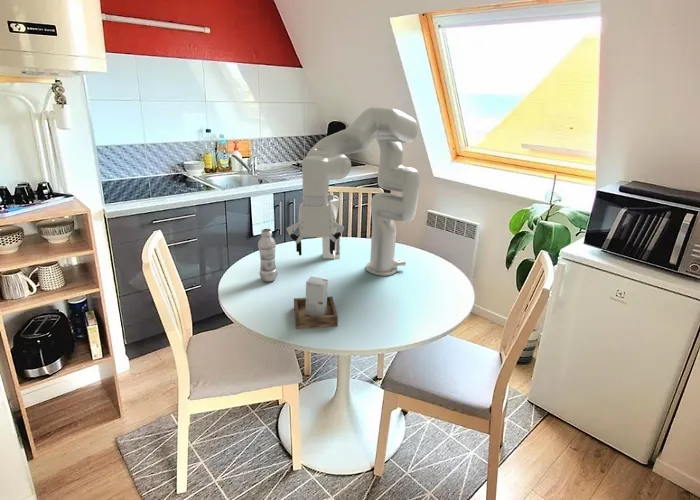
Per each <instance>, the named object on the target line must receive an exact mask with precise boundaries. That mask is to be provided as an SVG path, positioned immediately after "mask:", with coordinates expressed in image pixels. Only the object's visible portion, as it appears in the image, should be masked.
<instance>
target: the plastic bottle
mask: <svg viewBox="0 0 700 500" xmlns="http://www.w3.org/2000/svg"><path fill="white" fill-rule="evenodd" d="M260 232H261V234H260V236H261V237H260V239H259V241H258V243H257V247H258V251H259V258H260V268H259V277H260V280H261V281H262V282H267V283H269V282H273V281H275V280H276V279H277V276H278V270H277V267H276V245H277V243H276V241H275V239H274V237H272V236H273V233H272V229H271V228H263V229H261V231H260Z"/></svg>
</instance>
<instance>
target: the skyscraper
mask: <svg viewBox="0 0 700 500" xmlns="http://www.w3.org/2000/svg"><path fill="white" fill-rule="evenodd" d="M329 202H330V204H331V209H332V219H333V221H334V222H336V223H337V218H338V212H339V206H340V198H339V197H338V196H337V195H333V200H330V201H329ZM337 231H338V229H337V228H335V227H333V234H335V233H336V232H337ZM321 238H322V239H321V240H322V241H321V242H322V245H321V246H322V259H323V260H340V259H341V236H340V237H339V238H338V239H337V240H336V242H335V250H333V254H331V253H330V250H329V249H330V238H329V237H321Z"/></svg>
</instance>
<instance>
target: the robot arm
mask: <svg viewBox="0 0 700 500" xmlns="http://www.w3.org/2000/svg"><path fill="white" fill-rule="evenodd" d="M418 131H419V126H418V122H417V121H416V120H415V119H414V118H413V117H412V116H410V115H408V114H406V113H405V112H403V111H401V110H398V109H397V108H396V109H395V108H389V107H375V106H372V107H368V108H366V109H364V111H362V112H361V114H359V115H358V117H357V118H355V120H354V121H353V122H352V123H350V124H349V126H348V127H346V128H345V129H342V130H339V131H338V132H335V133H333V134H330V135H327V136H325V137H323V138H322V139H319V140H318V141H317V143H315V144H314V145H313V146H312V147H311V148H310V150H308V152H307V153H306V156H305V157H304V158H303V160H302V162H301V163H302V164H301V165H302V174H301V175H302V202H300V203H299V209H298V221H297V222H296V223H295V222H294V224H291V225H289V226H287V227H286V231H287V234H288V235H289V238H291V239H292V240H293V241H294V242H295V244H296V245H295V248H296V252H298V256H302V253H303V252H302V240H303V239H304V238H322V237H329V238H330V249H329V250H330V253H331V254H333V250H335V242H336V240H337V239H338V238H339V237H340V238H341V236H342V234H343V232H344V230H345V227H344V225H342V224H340V223H338V222H337V221H336V222H334V221H333V219H332V209H331V204H330V202H329V201H330V200H333V196H334V194H330V193H329V186H330V185H329V183H330V182H329V181H336V180H342V179H343V180H344V178H346V177H347V176H348V175H349V174H350V173H351V170H352V162H351V159H350V157H348V156H347V155H349V154H355V153H359V152H360V153H361V152H362V151H364V150H365V149H367V147H368V146H369V145H370V144H371V143H372V142H373V141H374V140H376V142H377V144H378V146H379V161H378V162H379V164H378V172H377V173H378V174H377V184H378V187H380V188H381V189H383V190H388V191H392V192H396V193H397V192H398V193H401V195H399V194H393V193H389V192H378V193H376V194H374V195H373V196H372V198H371V201H370V214H371V224H372V225H371V240H370V243H371V244H370V258H369V262H367V263H366V265H365V270H366V271H367V272H368V273H370V274H372V275H376V276H380V277H382V276H384V277H385V276H387V277H388V276H392V275H393V274H395V273H397V272H398V267H399V266H401V267H403V266H406V260H402V259H400V258H397V259H396V258H395V253H396V239H397V237H396V236H397V226H396V222H400V223H406V224H407V223H411V222H412V221H413V220H414V218H415V216H416V213H417V207H418V200H419V194H420V193H419V192H420V185H421V176H420V173H419V171H418V170H417V169H416V168H414V167H409V166H404V165H403V160H404V147H403V146H402V144H410V143H412V142H414V141H415V139H416V138H417V136H418ZM333 227H335V228H337V232H336V233H335V234H333ZM297 229H298V233H297V234H295V232H293V231H295V230H297Z"/></svg>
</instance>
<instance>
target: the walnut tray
mask: <svg viewBox="0 0 700 500" xmlns="http://www.w3.org/2000/svg"><path fill="white" fill-rule="evenodd" d="M293 310H294V321H295V329H297V330H298V329H314V328H329V327H338V321H339V320H338V318H339V317H338V316H339V315H338V313H337V308H336V305H335V300H334V297H333V296H327V311H326V313H325V315H324V316H309V315H306V314H305V313H306V297H296V298H293Z"/></svg>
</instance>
